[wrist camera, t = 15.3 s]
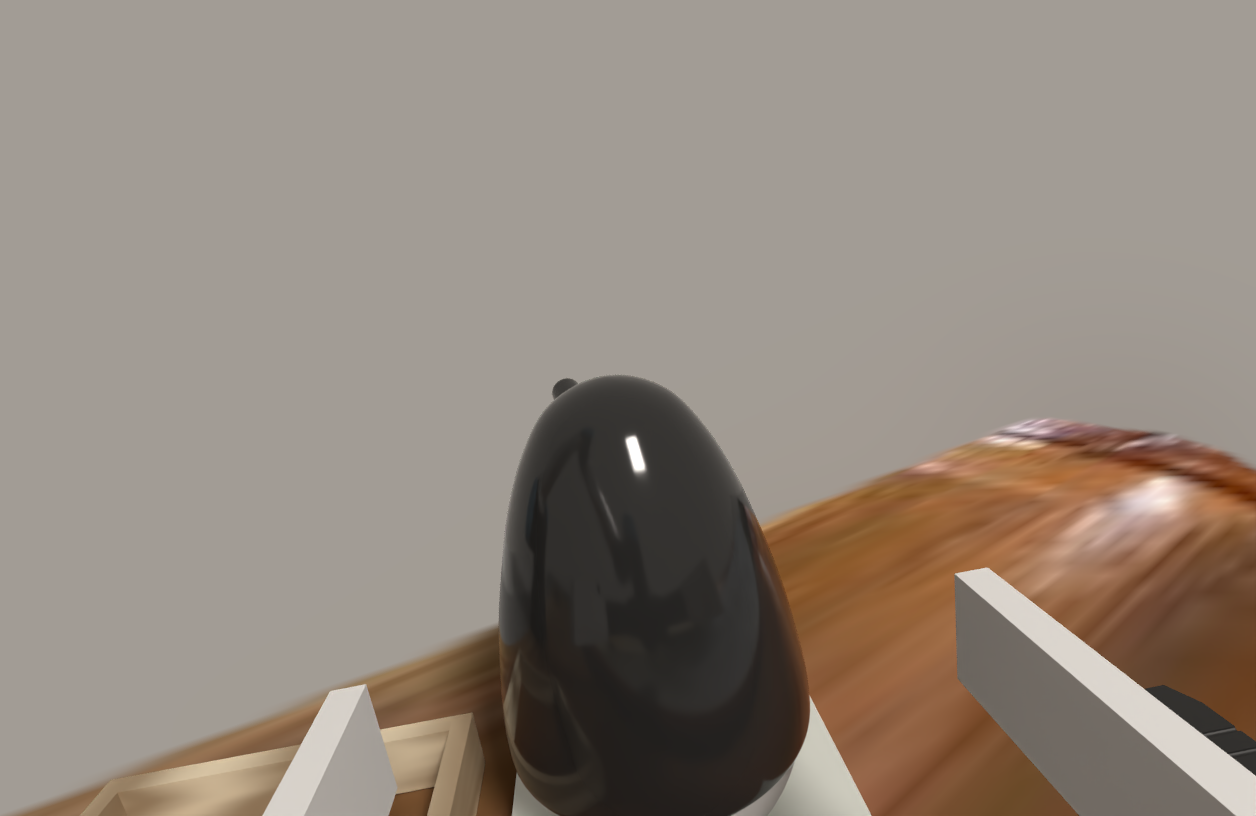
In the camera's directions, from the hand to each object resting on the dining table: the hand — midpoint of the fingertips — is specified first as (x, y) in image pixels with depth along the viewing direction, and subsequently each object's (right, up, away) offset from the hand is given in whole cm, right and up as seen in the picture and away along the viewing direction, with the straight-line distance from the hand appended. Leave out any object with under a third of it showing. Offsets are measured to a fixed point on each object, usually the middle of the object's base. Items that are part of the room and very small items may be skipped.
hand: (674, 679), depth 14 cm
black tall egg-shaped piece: (+1, -8, +9) cm, 12 cm away
